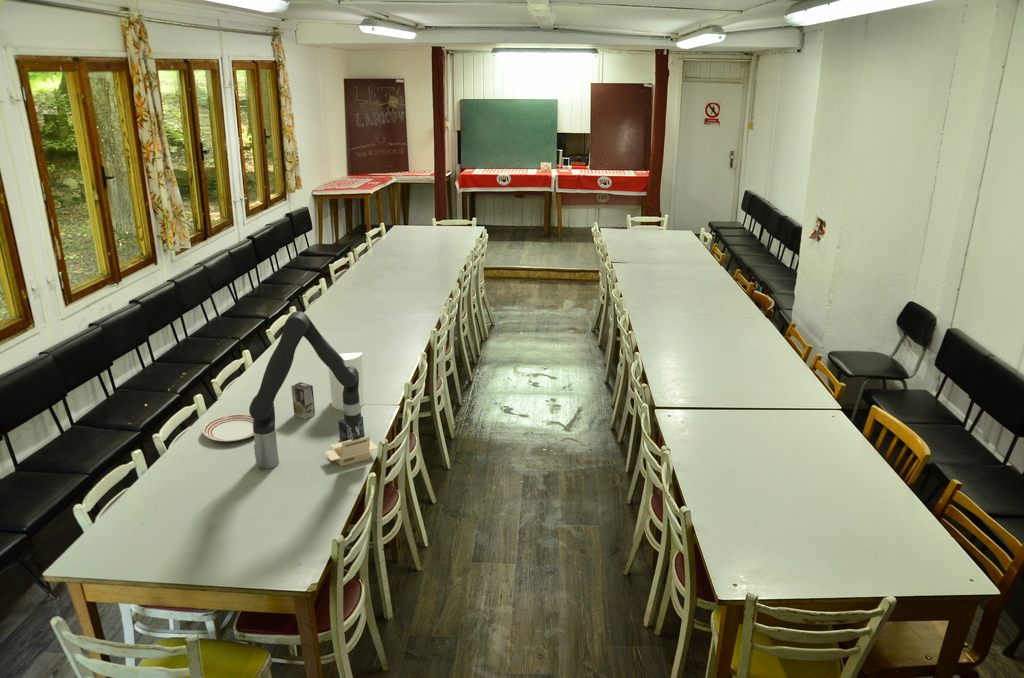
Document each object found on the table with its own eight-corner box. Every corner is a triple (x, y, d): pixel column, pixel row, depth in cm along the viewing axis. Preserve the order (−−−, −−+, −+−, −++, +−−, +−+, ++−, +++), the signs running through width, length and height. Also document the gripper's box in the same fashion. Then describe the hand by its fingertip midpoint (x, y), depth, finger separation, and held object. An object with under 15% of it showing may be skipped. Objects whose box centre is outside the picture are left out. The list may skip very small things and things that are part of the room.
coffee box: (315, 414, 386) (313, 385, 380) (306, 419, 381) (303, 390, 375) (303, 409, 391) (300, 381, 385) (293, 414, 386) (290, 385, 380)
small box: (356, 431, 370) (355, 412, 366) (365, 436, 366) (363, 416, 363) (338, 439, 363) (337, 420, 359) (347, 444, 359) (346, 424, 355)
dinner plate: (263, 416, 384) (262, 410, 383) (264, 441, 360) (263, 435, 359) (205, 423, 376) (204, 417, 375) (202, 450, 352) (201, 443, 351)
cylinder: (365, 408, 393) (362, 358, 383) (331, 411, 390) (327, 361, 380) (364, 394, 409) (361, 346, 399) (331, 396, 406) (327, 348, 395)
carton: (332, 469, 337) (331, 461, 336) (321, 455, 348) (320, 447, 347) (378, 456, 348) (378, 448, 347) (367, 443, 360) (366, 435, 358)
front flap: (341, 458, 338) (342, 443, 333) (341, 458, 338) (342, 443, 333) (369, 451, 344) (370, 436, 339) (369, 450, 344) (369, 435, 339)
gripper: (338, 407, 337) (341, 441, 344) (349, 418, 327) (352, 454, 333) (354, 403, 341) (357, 437, 347) (365, 414, 331) (368, 449, 337)
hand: (354, 445), depth 340 cm, fingers closed
